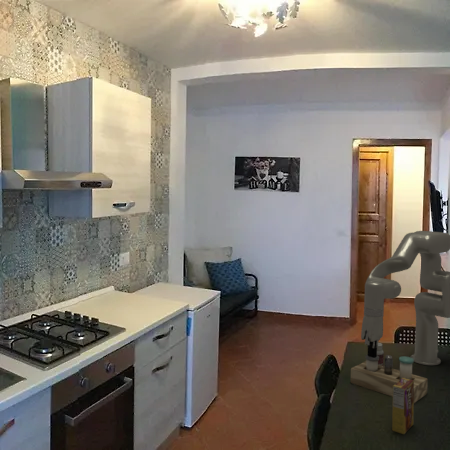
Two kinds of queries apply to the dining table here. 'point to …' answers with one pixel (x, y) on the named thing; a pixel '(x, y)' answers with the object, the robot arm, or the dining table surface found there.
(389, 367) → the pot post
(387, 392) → the wooden holder block
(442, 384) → the dining table surface
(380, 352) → the pill bottle
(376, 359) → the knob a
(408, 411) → the candy box
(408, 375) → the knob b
